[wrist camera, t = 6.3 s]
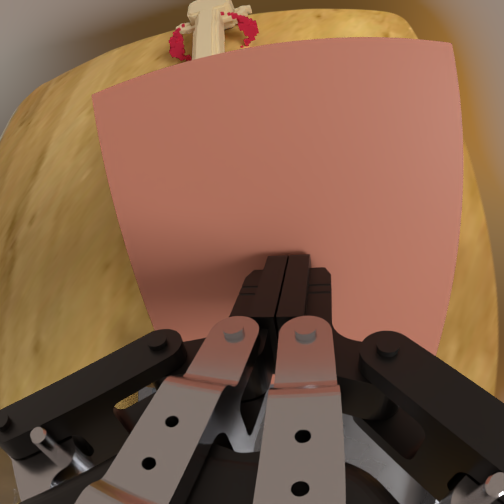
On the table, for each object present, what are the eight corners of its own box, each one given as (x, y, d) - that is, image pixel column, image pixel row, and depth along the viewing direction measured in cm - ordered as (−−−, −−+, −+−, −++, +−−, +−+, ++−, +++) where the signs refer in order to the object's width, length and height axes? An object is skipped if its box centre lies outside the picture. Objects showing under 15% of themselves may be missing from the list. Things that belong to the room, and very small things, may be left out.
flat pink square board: (433, 389, 13) (463, 45, 6) (171, 388, 16) (82, 98, 10) (426, 364, 14) (444, 52, 8) (183, 365, 18) (109, 97, 12)
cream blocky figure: (281, 146, 25) (253, 3, 31) (258, 75, 17) (235, -47, 23) (173, 170, 27) (183, 22, 33) (120, 118, 19) (157, -22, 25)
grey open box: (407, 549, 12) (419, 585, 7) (183, 537, 16) (152, 566, 11) (435, 379, 16) (466, 387, 11) (179, 380, 20) (138, 385, 15)
